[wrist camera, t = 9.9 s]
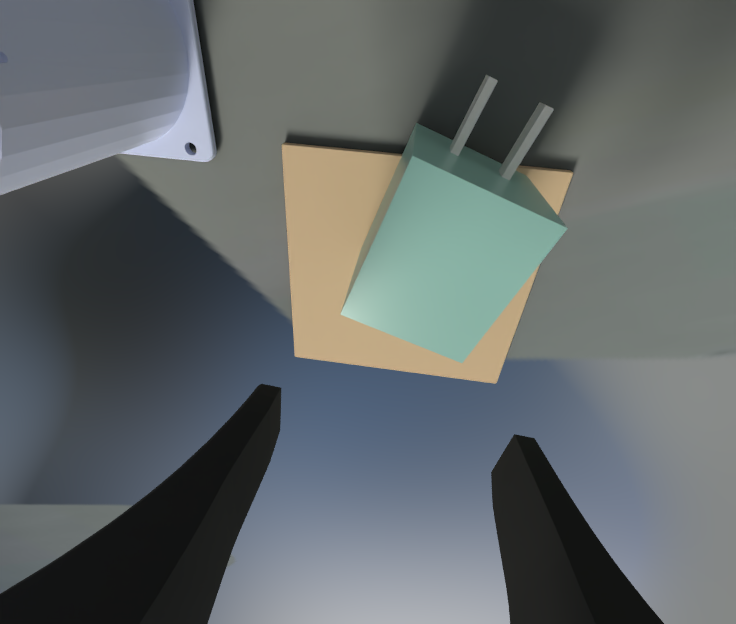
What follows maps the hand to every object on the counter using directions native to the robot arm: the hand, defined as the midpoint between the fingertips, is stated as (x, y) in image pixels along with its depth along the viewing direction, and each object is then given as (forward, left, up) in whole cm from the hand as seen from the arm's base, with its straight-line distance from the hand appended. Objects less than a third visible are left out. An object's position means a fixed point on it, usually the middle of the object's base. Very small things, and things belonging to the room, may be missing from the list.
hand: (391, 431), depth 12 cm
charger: (+1, +5, -9) cm, 10 cm away
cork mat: (0, 0, -9) cm, 9 cm away
